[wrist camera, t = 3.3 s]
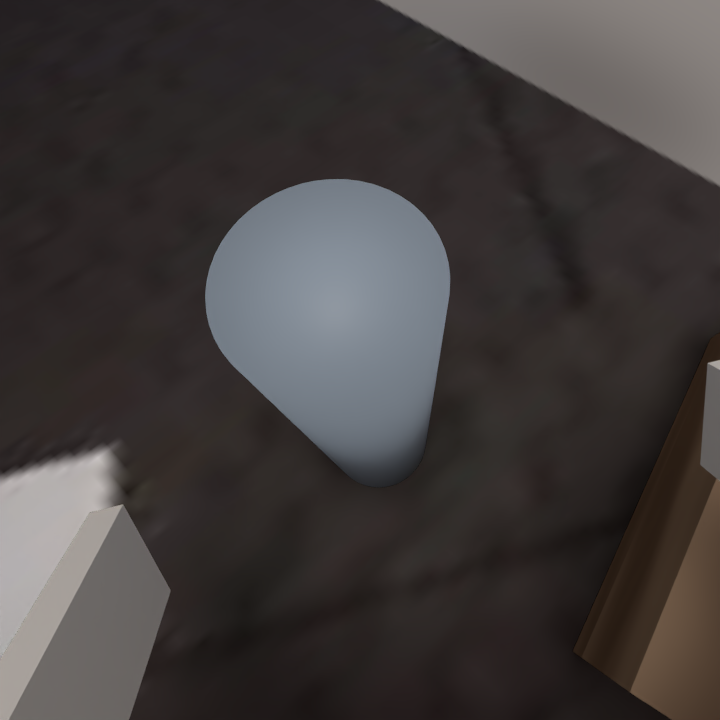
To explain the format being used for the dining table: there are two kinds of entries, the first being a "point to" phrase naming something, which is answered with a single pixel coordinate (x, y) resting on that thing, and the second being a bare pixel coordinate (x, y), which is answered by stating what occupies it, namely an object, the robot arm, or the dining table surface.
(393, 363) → the dowel
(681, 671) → the bore block
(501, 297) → the dining table surface
